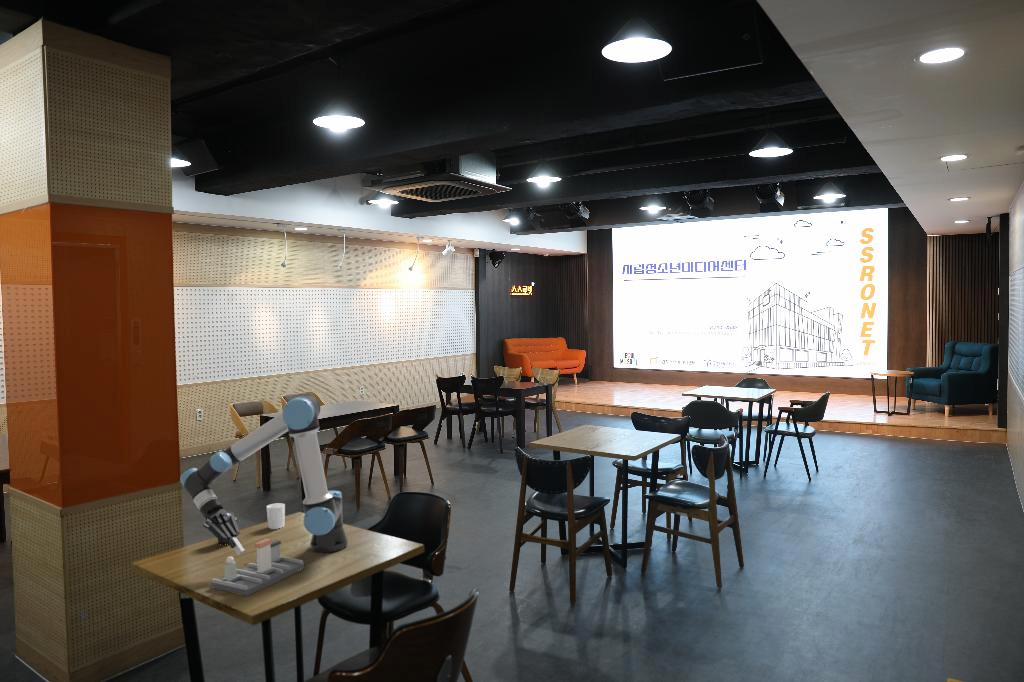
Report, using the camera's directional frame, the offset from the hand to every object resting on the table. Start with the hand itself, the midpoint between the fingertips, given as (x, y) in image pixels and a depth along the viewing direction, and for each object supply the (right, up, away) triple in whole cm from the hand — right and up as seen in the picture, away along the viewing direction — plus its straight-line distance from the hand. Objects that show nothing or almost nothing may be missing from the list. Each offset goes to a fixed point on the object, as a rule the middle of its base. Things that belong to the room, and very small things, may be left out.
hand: (241, 552), depth 257 cm
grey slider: (+10, -5, +7) cm, 13 cm away
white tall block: (+11, -6, -5) cm, 13 cm away
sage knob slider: (+1, -6, -11) cm, 13 cm away
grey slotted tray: (+8, -8, -4) cm, 12 cm away
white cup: (-6, -6, +57) cm, 57 cm away
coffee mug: (-20, -7, +38) cm, 44 cm away
